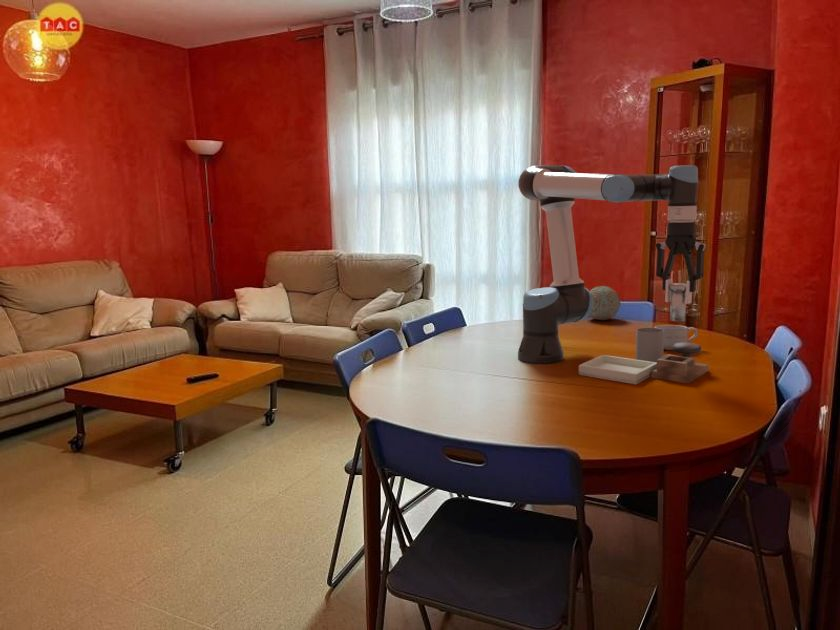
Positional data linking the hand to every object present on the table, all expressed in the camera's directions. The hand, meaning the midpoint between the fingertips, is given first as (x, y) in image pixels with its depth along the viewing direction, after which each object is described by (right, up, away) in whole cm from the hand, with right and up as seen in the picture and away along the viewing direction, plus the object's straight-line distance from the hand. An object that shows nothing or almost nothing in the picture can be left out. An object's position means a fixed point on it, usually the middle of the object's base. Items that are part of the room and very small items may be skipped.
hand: (678, 302), depth 183 cm
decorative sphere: (+5, -6, +94) cm, 94 cm away
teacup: (+14, -16, +38) cm, 44 cm away
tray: (-14, -22, +9) cm, 27 cm away
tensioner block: (+3, -21, +7) cm, 23 cm away
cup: (0, -19, +24) cm, 30 cm away
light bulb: (0, -5, +1) cm, 5 cm away
